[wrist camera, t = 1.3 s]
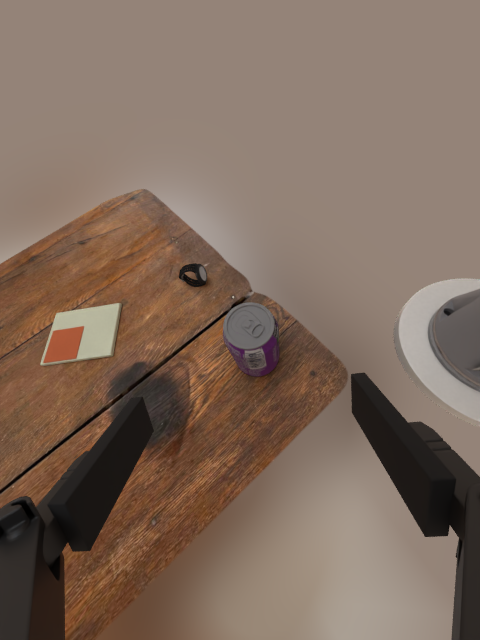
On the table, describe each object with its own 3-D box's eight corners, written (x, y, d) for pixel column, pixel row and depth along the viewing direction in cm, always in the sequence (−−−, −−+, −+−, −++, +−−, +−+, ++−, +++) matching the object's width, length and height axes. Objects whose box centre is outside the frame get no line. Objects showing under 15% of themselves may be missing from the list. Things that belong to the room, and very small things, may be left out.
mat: (122, 304, 48) (119, 302, 47) (113, 356, 43) (109, 354, 42) (59, 314, 49) (55, 312, 48) (43, 366, 44) (38, 364, 43)
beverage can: (287, 350, 38) (290, 315, 28) (263, 386, 36) (256, 364, 26) (252, 328, 41) (242, 290, 30) (227, 361, 39) (207, 332, 28)
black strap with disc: (205, 293, 46) (197, 277, 42) (182, 287, 48) (172, 272, 43) (213, 276, 48) (206, 260, 43) (191, 271, 49) (182, 255, 45)
